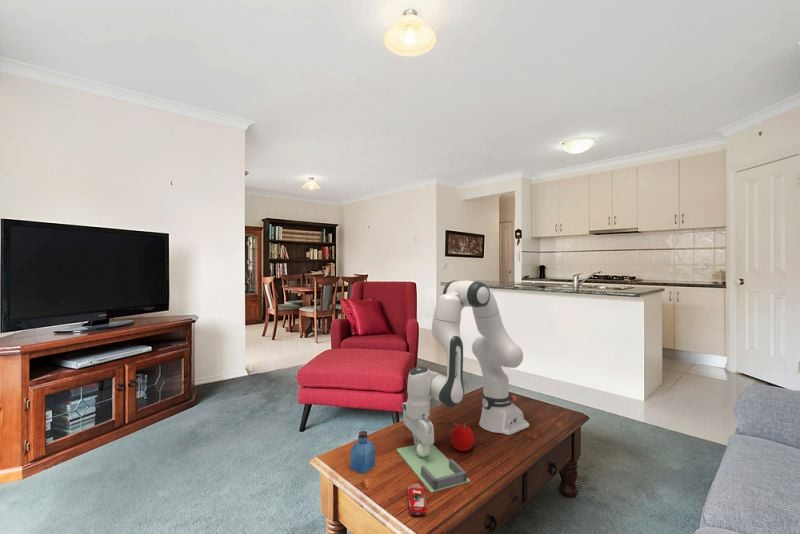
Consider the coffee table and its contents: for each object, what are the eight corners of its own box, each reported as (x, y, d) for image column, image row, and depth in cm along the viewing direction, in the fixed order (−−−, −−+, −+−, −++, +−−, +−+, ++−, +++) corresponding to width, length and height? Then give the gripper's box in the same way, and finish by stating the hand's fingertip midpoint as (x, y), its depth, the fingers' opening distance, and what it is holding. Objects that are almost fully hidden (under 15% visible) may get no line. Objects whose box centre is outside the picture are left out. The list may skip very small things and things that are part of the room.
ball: (425, 441, 135) (429, 439, 132) (428, 456, 133) (433, 454, 129) (413, 444, 133) (417, 442, 130) (416, 459, 131) (421, 457, 127)
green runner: (430, 442, 142) (430, 441, 142) (470, 481, 116) (470, 480, 116) (396, 449, 136) (396, 448, 136) (430, 492, 110) (430, 491, 110)
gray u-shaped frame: (451, 467, 125) (451, 458, 125) (466, 481, 116) (466, 472, 116) (420, 475, 120) (420, 466, 120) (434, 491, 111) (434, 481, 111)
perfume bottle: (364, 473, 120) (364, 438, 120) (350, 468, 123) (350, 434, 123) (374, 465, 125) (375, 431, 125) (361, 460, 129) (361, 427, 129)
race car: (406, 489, 113) (406, 476, 113) (423, 489, 113) (423, 476, 113) (408, 518, 99) (408, 504, 100) (427, 518, 100) (427, 504, 100)
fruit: (472, 456, 132) (473, 430, 132) (449, 452, 135) (449, 426, 135) (475, 444, 141) (475, 419, 141) (452, 441, 143) (452, 416, 143)
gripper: (438, 419, 127) (438, 457, 127) (414, 399, 146) (414, 433, 146) (423, 422, 125) (422, 461, 125) (400, 401, 143) (400, 435, 143)
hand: (417, 445), depth 135 cm, fingers closed
